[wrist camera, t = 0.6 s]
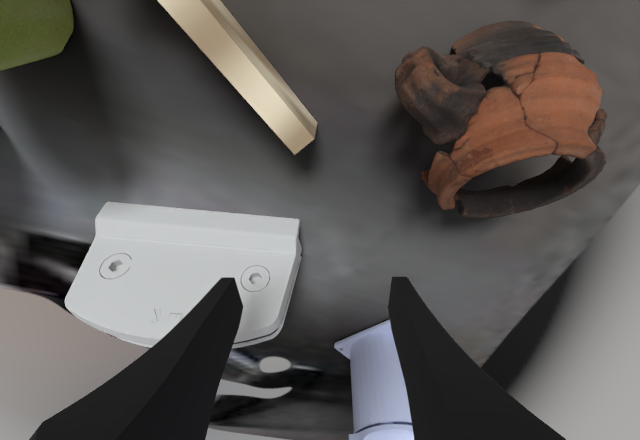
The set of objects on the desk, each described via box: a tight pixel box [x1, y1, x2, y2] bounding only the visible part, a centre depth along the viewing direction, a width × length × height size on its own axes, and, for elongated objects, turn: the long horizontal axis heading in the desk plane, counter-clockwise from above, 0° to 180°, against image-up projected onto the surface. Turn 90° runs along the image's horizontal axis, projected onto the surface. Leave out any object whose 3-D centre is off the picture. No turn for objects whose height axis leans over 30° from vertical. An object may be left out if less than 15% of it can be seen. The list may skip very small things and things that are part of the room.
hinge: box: [65, 202, 302, 348], centre depth 22 cm, size 17×5×10 cm, turn 85°
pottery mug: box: [395, 21, 607, 218], centre depth 16 cm, size 12×10×8 cm
